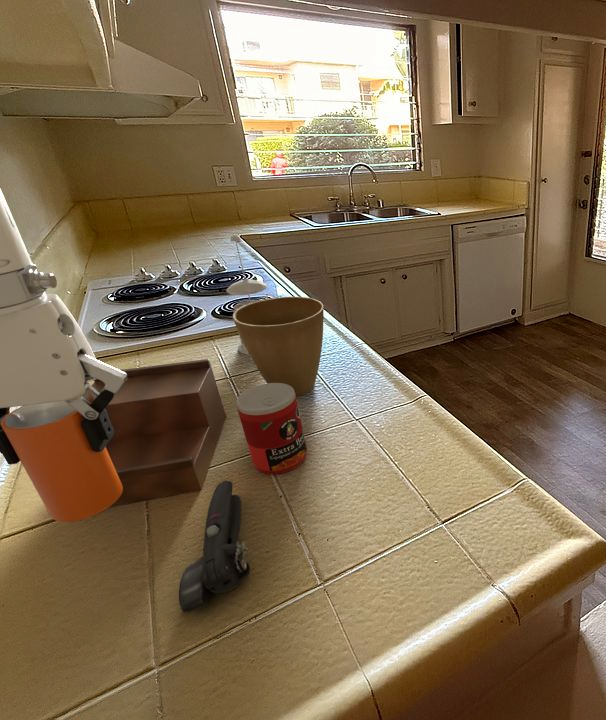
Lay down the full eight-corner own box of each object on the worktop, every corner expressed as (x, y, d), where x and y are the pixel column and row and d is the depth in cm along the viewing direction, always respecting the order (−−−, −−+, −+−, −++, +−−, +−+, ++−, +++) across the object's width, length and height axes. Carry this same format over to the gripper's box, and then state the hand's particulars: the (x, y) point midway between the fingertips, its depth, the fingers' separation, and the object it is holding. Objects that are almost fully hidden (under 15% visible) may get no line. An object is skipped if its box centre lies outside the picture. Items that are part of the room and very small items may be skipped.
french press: (255, 334, 112) (229, 229, 100) (298, 338, 110) (277, 231, 98) (227, 352, 103) (196, 239, 92) (274, 356, 101) (248, 241, 90)
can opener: (253, 603, 48) (240, 566, 46) (177, 626, 46) (159, 588, 44) (261, 492, 63) (252, 459, 61) (204, 505, 61) (192, 471, 58)
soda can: (37, 527, 49) (-16, 434, 44) (67, 486, 55) (23, 399, 49) (110, 514, 51) (67, 424, 45) (131, 475, 56) (96, 390, 51)
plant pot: (269, 418, 79) (247, 332, 72) (243, 385, 89) (222, 307, 82) (349, 389, 88) (337, 310, 81) (317, 362, 98) (304, 290, 91)
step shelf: (63, 515, 60) (24, 445, 54) (119, 432, 76) (93, 372, 71) (201, 490, 64) (177, 422, 59) (226, 416, 80) (209, 358, 75)
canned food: (276, 482, 65) (258, 417, 60) (241, 463, 69) (223, 400, 64) (319, 453, 71) (307, 391, 66) (285, 437, 74) (271, 377, 69)
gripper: (114, 272, 47) (165, 418, 55) (-107, 284, 42) (-15, 442, 50) (81, 295, 40) (145, 457, 49) (-183, 313, 36) (-65, 489, 44)
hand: (63, 449), depth 49 cm, fingers closed on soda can, 6 cm apart
